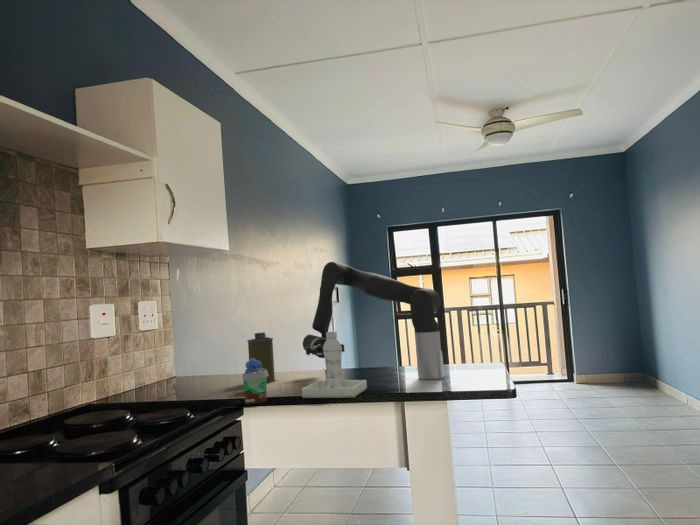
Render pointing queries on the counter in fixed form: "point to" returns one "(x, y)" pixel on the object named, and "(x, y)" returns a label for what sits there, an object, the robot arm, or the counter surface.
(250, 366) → the grapes
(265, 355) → the canister
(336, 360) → the plastic bottle
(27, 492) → the counter surface
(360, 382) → the tray
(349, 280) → the robot arm
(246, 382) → the food container
